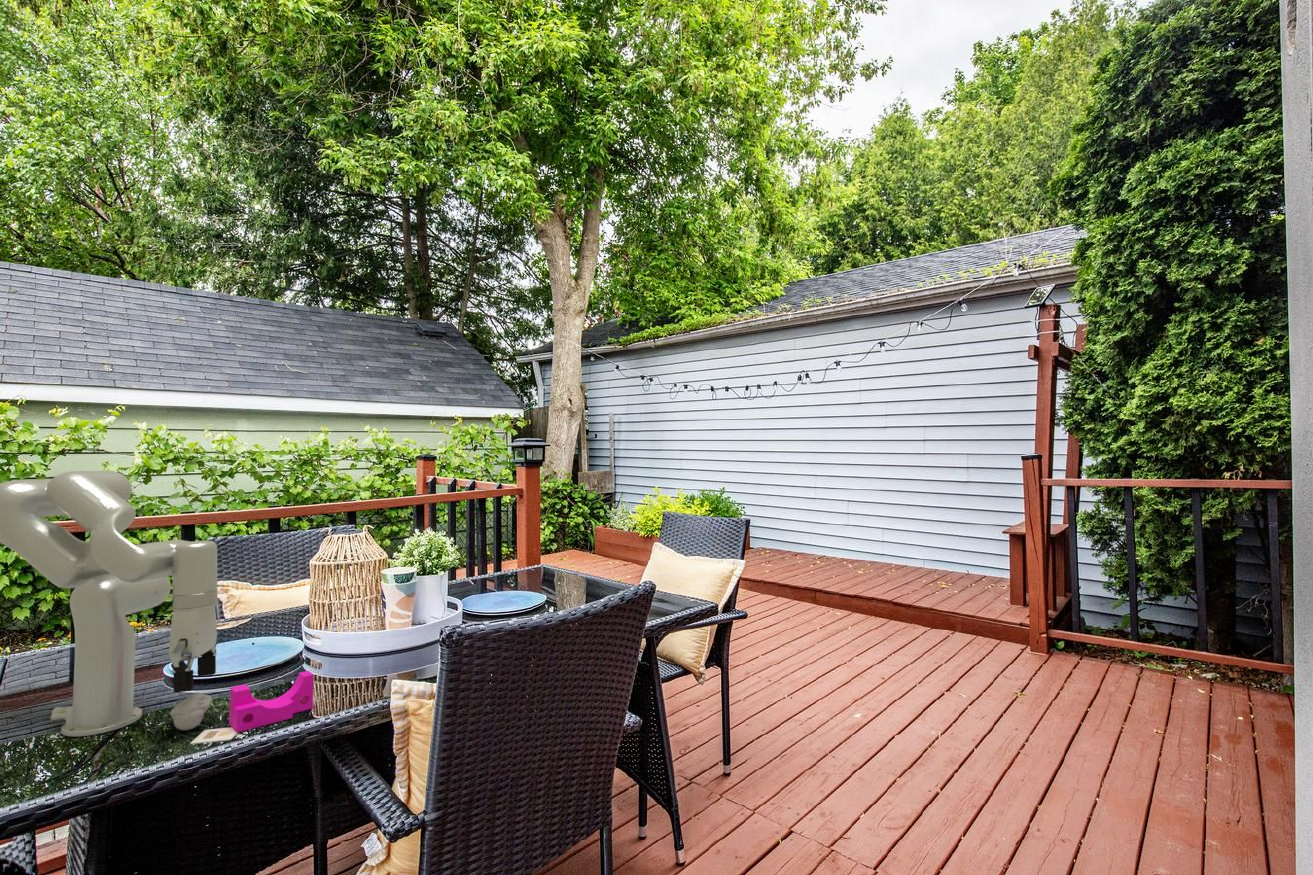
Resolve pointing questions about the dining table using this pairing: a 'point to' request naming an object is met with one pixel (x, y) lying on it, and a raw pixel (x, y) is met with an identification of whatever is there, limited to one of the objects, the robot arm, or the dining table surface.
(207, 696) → the frog figurine
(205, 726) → the dining table surface
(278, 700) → the toy block
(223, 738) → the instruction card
